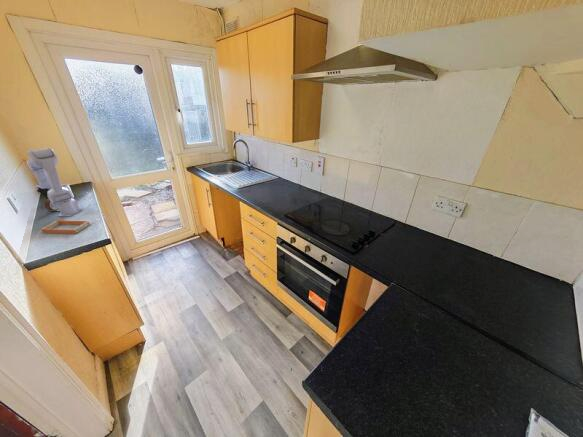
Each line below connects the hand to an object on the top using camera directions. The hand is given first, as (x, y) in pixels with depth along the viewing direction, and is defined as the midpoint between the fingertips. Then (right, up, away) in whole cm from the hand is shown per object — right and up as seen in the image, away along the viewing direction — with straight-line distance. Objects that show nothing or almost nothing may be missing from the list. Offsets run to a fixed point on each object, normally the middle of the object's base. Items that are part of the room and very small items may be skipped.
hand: (54, 198), depth 152 cm
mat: (0, -7, +4) cm, 8 cm away
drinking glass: (-9, +2, +19) cm, 21 cm away
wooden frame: (+27, -20, -19) cm, 38 cm away
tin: (0, -6, +4) cm, 7 cm away
